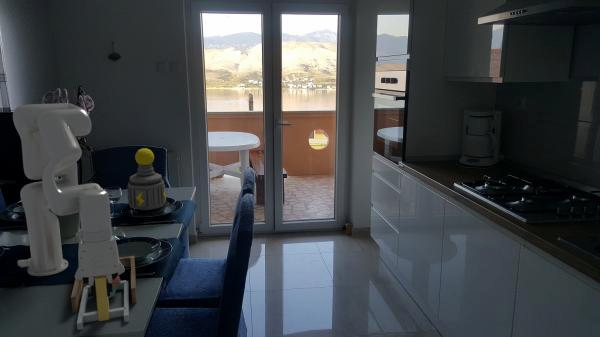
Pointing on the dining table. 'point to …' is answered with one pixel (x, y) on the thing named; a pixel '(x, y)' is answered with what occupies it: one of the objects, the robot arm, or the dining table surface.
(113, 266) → the robot arm
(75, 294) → the bay
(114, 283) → the cupcake
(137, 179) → the decorative lamp
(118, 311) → the frame
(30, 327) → the dining table surface
